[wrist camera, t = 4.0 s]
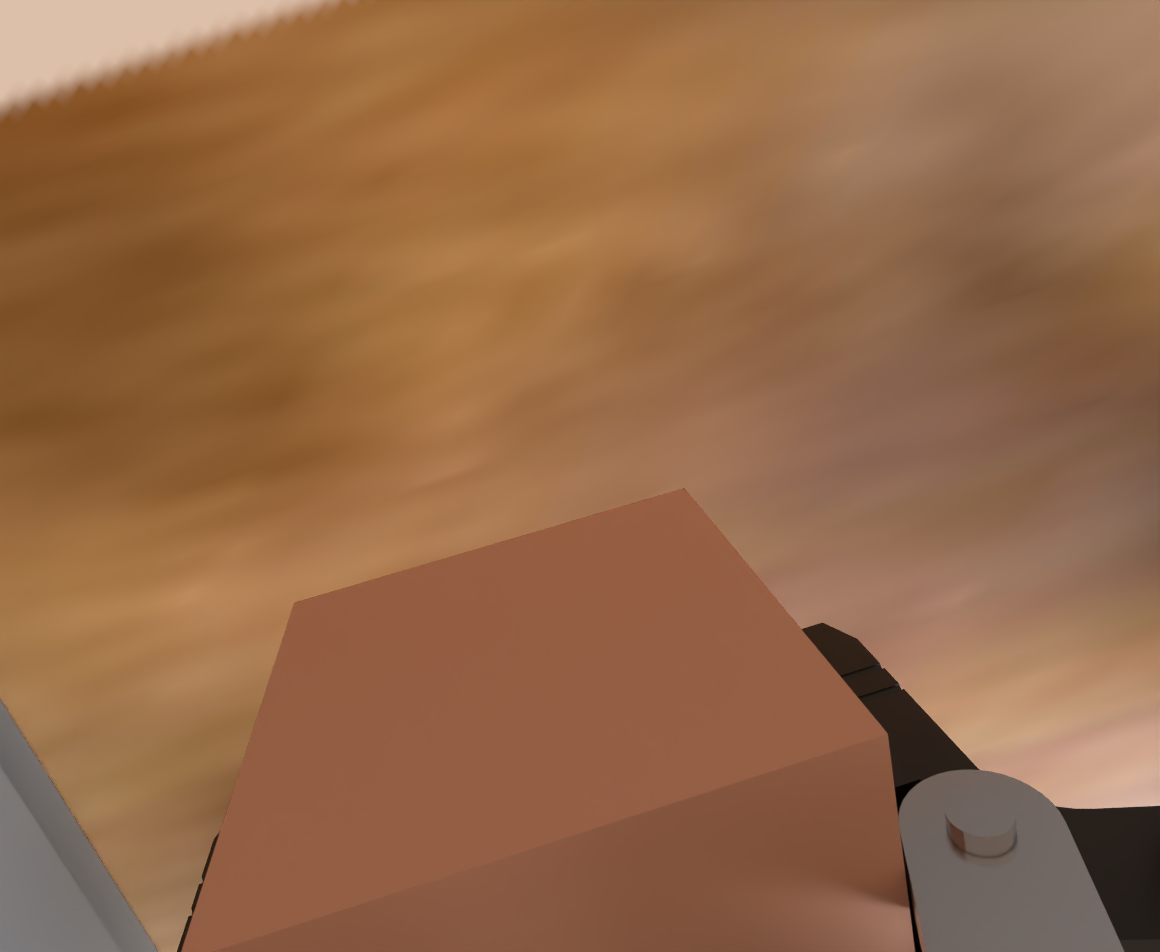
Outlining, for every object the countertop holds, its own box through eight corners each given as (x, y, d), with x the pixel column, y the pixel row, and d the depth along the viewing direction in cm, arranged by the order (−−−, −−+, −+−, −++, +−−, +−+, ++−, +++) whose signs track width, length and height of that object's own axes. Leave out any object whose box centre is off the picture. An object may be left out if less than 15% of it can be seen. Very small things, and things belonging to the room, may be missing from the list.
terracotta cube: (684, 487, 10) (887, 734, 6) (747, 791, 12) (941, 1163, 8) (294, 602, 10) (177, 962, 5) (418, 897, 12) (411, 1357, 7)
